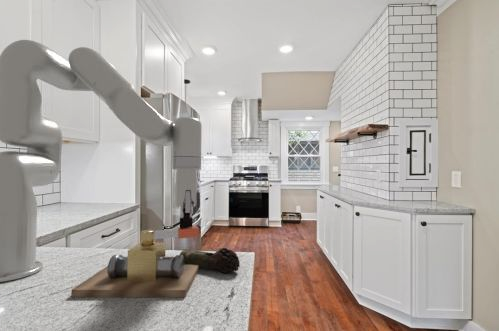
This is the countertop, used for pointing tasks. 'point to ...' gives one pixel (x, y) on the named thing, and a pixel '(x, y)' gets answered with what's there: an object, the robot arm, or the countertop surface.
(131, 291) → the mounting board
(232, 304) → the countertop surface
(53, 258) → the countertop surface
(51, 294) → the countertop surface
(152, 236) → the valve lever
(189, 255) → the olive brown elongated lump
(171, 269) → the pipe and valve
